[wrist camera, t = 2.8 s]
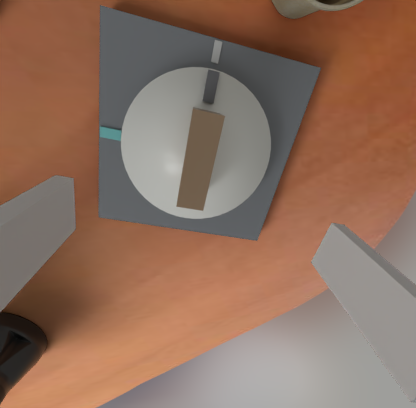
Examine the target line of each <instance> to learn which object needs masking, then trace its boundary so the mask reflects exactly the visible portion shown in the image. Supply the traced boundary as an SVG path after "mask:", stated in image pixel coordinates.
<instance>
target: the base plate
mask: <svg viewBox="0 0 416 408" xmlns="http://www.w3.org/2000/svg"><path fill="white" fill-rule="evenodd" d="M188 67H204V68H209V69H215V70H217V71H220V72H223V73H226V74H228V75H230V76H231V77H233V78H235V79H237V80H238V81H239V82H241V83H242V84H243V85H245V86H246V87H247V88H248V89H249V90H250V91H251V92H252V94H253V95H254V96H255V97H256V99H257V100H258V102H259V103H260V105H261V107H262V109H263V110H264V113H265V115H266V118H267V121H268V125H269V129H270V136H271V152H270V159H269V163H268V166H267V169H266V172H265V174H264V177H263V178H262V180H261V182H260V184H259V185H258V187H257V188H256V190H255V191H254V192H253V193H252V194H251V195H250V197H249V198H248V199H246V200H245V201H244V202H243V203H242V204H240V205H239V206H237V207H236V208H234V209H232V210H231V211H229V212H227V213H224V214H221V215H219V216H215V217H211V218H203V219H191V218H183V217H178V216H175V215H172V214H169V213H167V212H165V211H162V210H160V209H159V208H157V207H156V206H154V205H153V204H151V203H150V202H149V201H148V200H146V199H145V198H144V197H143V196H142V195H141V194H140V193H139V191H138V190H137V189H136V187H135V186H134V185H133V183H132V181H131V179H130V178H129V176H128V173H127V171H126V169H125V166H124V162H123V158H122V152H121V133H122V126H123V122H124V119H125V116H126V114H127V111H128V109H129V107H130V105H131V103H132V102H133V100H134V98H135V97H136V96H137V95H138V94H139V92H140V91H141V90H142V89H143V88H144V87H145V86H146V85H148V84H149V83H150V82H151V81H153V80H154V79H156V78H157V77H159V76H161V75H163V74H165V73H167V72H170V71H173V70H176V69H180V68H188ZM320 70H321V68H319V67H316V66H312V65H309V64H305V63H302V62H298V61H295V60H291V59H288V58H284V57H280V56H277V55H273V54H270V53H266V52H263V51H259V50H256V49H252V48H249V47H245V46H242V45H238V44H235V43H231V42H228V41H224V40H221V39H217V38H214V37H210V36H207V35H203V34H200V33H196V32H193V31H189V30H186V29H182V28H179V27H175V26H171V25H168V24H164V23H161V22H157V21H154V20H150V19H147V18H143V17H140V16H136V15H133V14H129V13H126V12H122V11H119V10H115V9H112V8H108V7H105V6H101V5H100V86H99V217H100V218H107V219H114V220H120V221H127V222H134V223H141V224H148V225H154V226H161V227H168V228H175V229H181V230H188V231H195V232H202V233H208V234H215V235H222V236H229V237H236V238H242V239H249V240H256V241H257V240H258V237H259V234H260V232H261V229H262V226H263V224H264V221H265V218H266V215H267V213H268V210H269V207H270V205H271V202H272V199H273V197H274V194H275V191H276V188H277V186H278V183H279V180H280V178H281V175H282V172H283V169H284V167H285V164H286V161H287V159H288V156H289V153H290V151H291V148H292V145H293V142H294V140H295V137H296V134H297V132H298V129H299V126H300V124H301V121H302V118H303V115H304V113H305V110H306V107H307V105H308V102H309V99H310V97H311V94H312V91H313V88H314V86H315V83H316V80H317V78H318V75H319V72H320Z"/></svg>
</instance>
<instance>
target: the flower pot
mask: <svg viewBox="0 0 416 408" xmlns="http://www.w3.org/2000/svg"><path fill="white" fill-rule="evenodd" d="M361 1H363V0H272V2H273V4H274V6H275V7H276V9H277V11H278V12H279V13H280V14H281V15H283V16H285V17H287V18H291V19H296V18H301V17H304V16H306V15H308V14H310V13H313V12H316V11H318V10H325V11H338V10H343V9H346V8H349V7H352V6H354V5H356V4H358V3H360V2H361Z"/></svg>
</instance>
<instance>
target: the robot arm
mask: <svg viewBox="0 0 416 408" xmlns="http://www.w3.org/2000/svg"><path fill="white" fill-rule="evenodd" d="M75 229H76V219H75V198H74V178H69V177H64V176H58V175H55V176H53V177H51V178H49V179H48V180H46V181H44V182H42V183H40V184H38V185H37V186H35V187H33V188H31V189H29V190H28V191H26V192H24V193H22V194H20V195H19V196H17V197H15V198H13V199H11V200H9V201H8V202H6V203H4V204H2V205H0V404H1V402H2V401H3V399H4V398H5V396H6V395H7V393H8V392H9V391H10V390H11V389H12V388H13V387H14V386H15V385H16V384H17V383H18V382H19V381H20V380H21V378H22V377H23V376H24V375H25V374H26V373H27V372H28V371H29V370H30V369H31V368H32V367H33V366H34V365H35V364H36V363H37V362H38V361H39V359H40V358H41V356H42V354H43V353H44V351H45V349H46V347H47V339H46V336H45V335H44V333H43V332H42V330H41V329H40V328H38V327H37V326H36V325H35V324H33V323H32V322H30V321H28V320H26V319H24V318H21V317H19V316H16V315H12V314H8V313H1V311H2V310H3V309H4V308H5V307H6V306H7V304H8V303H9V302H10V301H11V300H12V299H13V298H14V297H15V296H16V295H17V293H18V292H19V291H20V290H21V289H22V288H23V287H24V286H25V285H26V283H27V282H28V281H29V280H30V279H31V278H32V277H33V276H34V275H35V274H36V272H37V271H38V270H39V269H40V268H41V267H42V266H43V265H44V264H45V263H46V261H47V260H48V259H49V258H50V257H51V256H52V255H53V254H54V253H55V252H56V250H57V249H58V248H59V247H60V246H61V245H62V244H63V243H64V242H65V240H66V239H67V238H68V237H69V236H70V235H71V234H72V233H73V232H74V231H75ZM311 263H312V264H313V266H314V267H315V269H316V270H317V271H318V273H319V274H320V276H321V277H322V278H323V280H324V281H325V283H326V284H327V285H328V287H329V288H330V289H331V291H332V292H333V294H334V295H335V297H336V298H337V299H338V301H339V302H340V304H341V305H342V306H343V308H344V309H345V311H346V312H347V313H348V315H349V316H350V318H351V319H352V320H353V322H354V323H355V325H356V326H357V327H358V329H359V330H360V332H361V333H362V334H363V336H364V337H365V339H366V340H367V341H368V343H369V344H370V346H371V347H372V348H373V350H374V351H375V353H376V354H377V355H378V357H379V358H380V359H381V361H382V362H383V364H384V365H385V367H386V368H387V369H388V371H389V372H390V374H391V375H392V376H393V378H394V379H395V381H396V382H397V383H398V385H399V386H400V388H401V389H402V390H403V392H404V393H405V395H406V396H407V397H408V399H409V400H410V402H416V285H415V284H414V283H413V282H412V281H410V280H409V279H408V278H407V277H406V276H404V275H403V274H402V273H401V272H400V271H399V270H397V269H396V268H395V267H394V266H392V265H391V264H390V263H389V262H388V261H387V260H385V259H384V258H383V257H382V256H381V255H380V254H378V253H377V252H376V251H375V250H374V249H372V248H371V247H370V246H369V245H368V244H366V243H365V242H364V241H363V240H362V239H360V238H359V237H358V236H357V235H356V234H355V233H353V232H352V231H351V230H350V229H349V228H347V227H346V226H345V225H342V224H336V223H331V225H330V227H329V229H328V231H327V233H326V235H325V237H324V238H323V240H322V242H321V244H320V246H319V248H318V250H317V252H316V254H315V256H314V257H313V259H312V261H311Z"/></svg>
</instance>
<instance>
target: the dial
mask: <svg viewBox="0 0 416 408" xmlns="http://www.w3.org/2000/svg"><path fill="white" fill-rule="evenodd" d="M121 152H122V158H123V162H124V166H125V169H126V171H127V173H128V176H129V178H130V179H131V181H132V183H133V185H134V186H135V187H136V189H137V190H138V191H139V193H140V194H141V195H142V196H143V197H144V198H145V199H146V200H148V201H149V202H150V203H151V204H153V205H154V206H156V207H157V208H159V209H160V210H162V211H165V212H167V213H169V214H172V215H175V216H178V217H183V218H191V219H203V218H211V217H215V216H219V215H221V214H224V213H227V212H229V211H231V210H232V209H234V208H236V207H237V206H239V205H240V204H242V203H243V202H244V201H245V200H246V199H248V198H249V197H250V195H251V194H252V193H253V192H254V191H255V190H256V188H257V187H258V185H259V184H260V182H261V180H262V178H263V177H264V174H265V172H266V169H267V166H268V163H269V159H270V152H271V136H270V129H269V125H268V121H267V118H266V115H265V113H264V110H263V109H262V107H261V105H260V103H259V102H258V100H257V99H256V97H255V96H254V95H253V94H252V92H251V91H250V90H249V89H248V88H247V87H246V86H245V85H243V84H242V83H241V82H239V81H238V80H237V79H235V78H233V77H231V76H230V75H228V74H226V73H223V72H220V71H217V70H215V69H209V68H204V67H188V68H180V69H176V70H173V71H170V72H167V73H165V74H163V75H161V76H159V77H157V78H156V79H154V80H153V81H151V82H150V83H149V84H148V85H146V86H145V87H144V88H143V89H142V90H141V91H140V92H139V94H138V95H137V96H136V97H135V98H134V100H133V102H132V103H131V105H130V107H129V109H128V111H127V114H126V116H125V119H124V122H123V126H122V133H121Z"/></svg>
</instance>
